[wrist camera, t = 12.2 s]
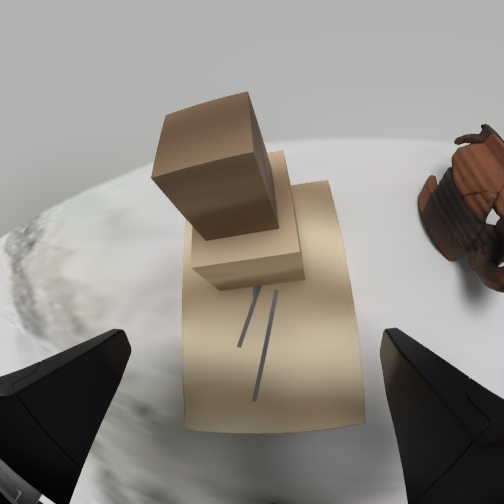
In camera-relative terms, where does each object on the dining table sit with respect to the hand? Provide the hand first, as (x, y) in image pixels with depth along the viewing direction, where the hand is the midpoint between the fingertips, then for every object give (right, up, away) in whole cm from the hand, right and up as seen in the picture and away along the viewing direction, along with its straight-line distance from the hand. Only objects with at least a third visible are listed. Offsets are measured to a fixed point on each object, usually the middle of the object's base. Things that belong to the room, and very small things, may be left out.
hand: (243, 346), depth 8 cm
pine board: (+1, 0, +8) cm, 8 cm away
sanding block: (+1, +4, +9) cm, 9 cm away
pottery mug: (+17, +5, +7) cm, 19 cm away
